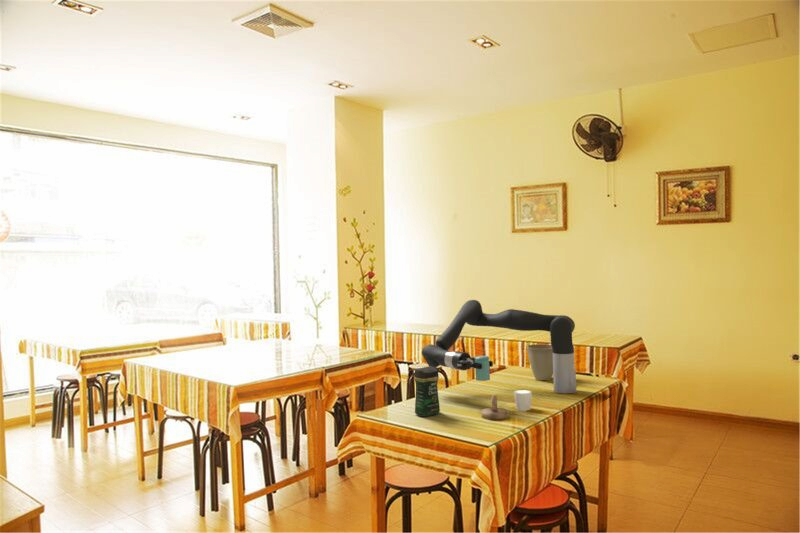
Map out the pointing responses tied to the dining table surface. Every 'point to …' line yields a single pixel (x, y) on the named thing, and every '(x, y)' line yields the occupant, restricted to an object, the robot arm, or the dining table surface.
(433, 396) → the coffee jar
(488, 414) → the post
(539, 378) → the plant pot
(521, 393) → the white cup
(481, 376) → the teal lidded canister
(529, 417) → the dining table surface
